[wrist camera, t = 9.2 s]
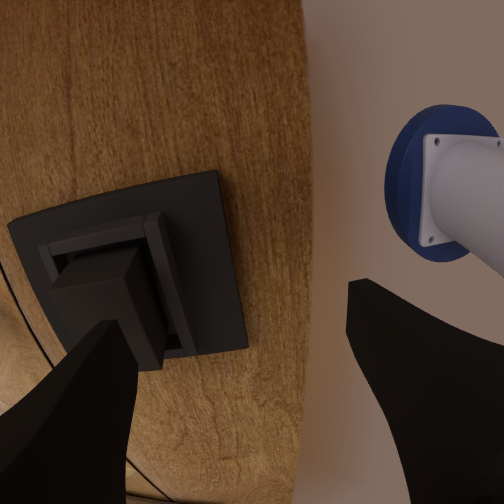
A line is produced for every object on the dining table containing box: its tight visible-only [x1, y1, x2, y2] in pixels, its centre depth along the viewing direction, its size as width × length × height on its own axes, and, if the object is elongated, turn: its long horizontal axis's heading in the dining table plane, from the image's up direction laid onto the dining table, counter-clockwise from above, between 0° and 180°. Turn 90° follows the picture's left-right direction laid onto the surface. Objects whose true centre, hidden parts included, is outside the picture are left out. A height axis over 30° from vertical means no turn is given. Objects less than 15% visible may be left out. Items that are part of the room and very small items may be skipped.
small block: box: [48, 242, 169, 372], centre depth 16 cm, size 4×6×4 cm
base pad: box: [7, 170, 249, 359], centre depth 18 cm, size 14×12×2 cm
